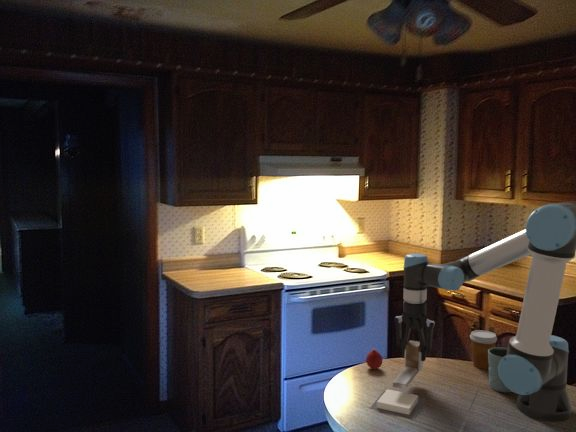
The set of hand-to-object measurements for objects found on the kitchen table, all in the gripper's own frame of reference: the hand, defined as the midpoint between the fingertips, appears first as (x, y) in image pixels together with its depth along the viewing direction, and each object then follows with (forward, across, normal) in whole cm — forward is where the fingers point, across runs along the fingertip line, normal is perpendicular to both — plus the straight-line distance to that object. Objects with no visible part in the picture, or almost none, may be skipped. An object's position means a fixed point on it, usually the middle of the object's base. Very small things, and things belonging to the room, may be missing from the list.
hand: (413, 368), depth 186 cm
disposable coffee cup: (+6, -18, -28) cm, 34 cm away
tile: (+4, 0, +13) cm, 13 cm away
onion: (+6, +16, -6) cm, 18 cm away
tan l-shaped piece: (0, 0, +7) cm, 7 cm away
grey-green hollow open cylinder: (+6, -27, -12) cm, 30 cm away
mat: (+6, 0, +16) cm, 18 cm away
